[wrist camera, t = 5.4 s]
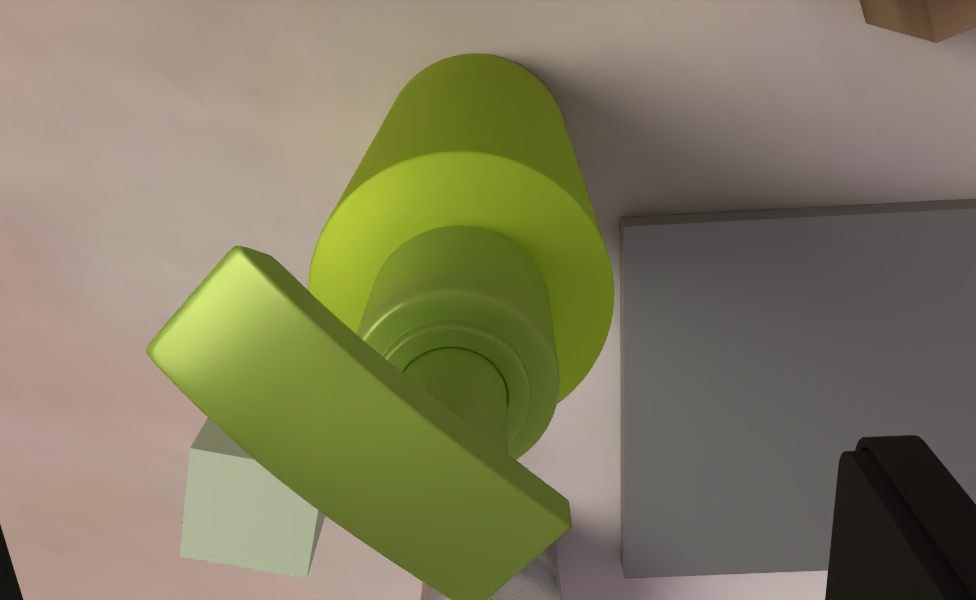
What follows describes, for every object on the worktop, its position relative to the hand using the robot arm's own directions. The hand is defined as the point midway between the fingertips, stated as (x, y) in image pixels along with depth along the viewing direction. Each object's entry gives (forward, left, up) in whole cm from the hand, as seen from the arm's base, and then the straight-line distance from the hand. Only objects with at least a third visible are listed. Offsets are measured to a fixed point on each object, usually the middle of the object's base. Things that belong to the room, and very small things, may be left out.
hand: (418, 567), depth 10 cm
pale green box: (+10, -7, -21) cm, 24 cm away
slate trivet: (+10, +12, -21) cm, 26 cm away
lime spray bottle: (0, 0, -21) cm, 21 cm away
